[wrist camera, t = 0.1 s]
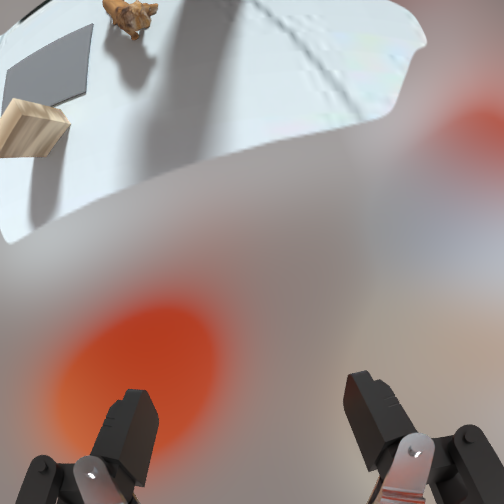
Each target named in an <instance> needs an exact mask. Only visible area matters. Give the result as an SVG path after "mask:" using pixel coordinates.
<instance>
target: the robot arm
mask: <svg viewBox="0 0 504 504" xmlns="http://www.w3.org/2000/svg"><path fill="white" fill-rule="evenodd" d="M343 406H344V411H345V414H346V416H347V418H348V421H349V423H350V426H351V428H352V431H353V433H354V436H355V438H356V441H357V443H358V446H359V448H360V451H361V453H362V456H363V458H364V461H365V464H366V466H367V469H368V471H369V472H370V471H374V470H376V469H378V472H379V474H380V475H379V477H378V480H377V482H376V484H375V487H374V489H373V491H372V493H371V495H370V497H369V499H368V501H367V503H366V504H425V499H424V498H423V493H424V489H425V486H426V484H429V486H430V488H431V491H432V493H433V496H434V498H435V501H436V503H437V504H504V467H503V465H502V463H501V461H500V460H499V458H498V456H497V454H496V453H495V451H494V449H493V448H492V446H491V444H490V443H489V442H488V440H487V438H486V436H485V435H484V433H483V432H482V430H481V429H480V428H479V427H477V426H475V425H464V426H462V427H460V428H459V429H458V430H457V431H456V433H455V434H454V435H451V436H446V437H440V438H430V437H429V436H428V435H426V434H423V433H418V432H417V430H416V429H415V427H414V426H413V424H412V422H411V420H410V419H409V417H408V416H407V414H406V412H405V411H404V409H403V407H402V406H401V404H399V401H398V399H397V397H395V394H394V393H393V391H392V389H391V388H390V386H389V385H387V384H386V383H384V382H383V381H382V380H380V379H379V380H376V381H374V380H373V379H372V377H371V375H370V374H369V372H368V371H366V370H365V371H361V372H357V373H352V374H349V375H348V377H347V382H346V388H345V393H344V398H343ZM158 426H159V418H158V413H157V411H156V409H155V407H154V405H153V403H152V401H151V399H150V396H149V394H148V392H147V391H146V390H136V389H128V390H127V391H126V393H125V396H124V398H123V400H117V401H116V402H115V403H114V404H113V405H112V406H111V407H110V409H109V411H108V413H107V415H106V419H105V420H104V423H103V427H101V429H100V432H99V434H98V437H97V439H96V441H95V444H94V447H93V449H92V451H91V454H90V455H89V456H84V457H82V458H80V459H79V460H78V461H77V462H76V463H75V464H61V463H56V462H55V461H54V460H53V459H52V458H51V457H49V456H46V455H40V456H37V457H36V458H34V459H33V460H32V462H31V464H30V466H29V468H28V471H27V473H26V476H25V478H24V481H23V484H22V486H21V489H20V492H19V494H18V497H17V500H16V504H55V503H56V500H57V497H58V501H57V504H140V502H139V500H138V499H137V497H136V495H135V494H134V492H133V491H134V486H139V487H144V486H145V481H146V477H147V472H148V468H149V463H150V459H151V455H152V451H153V446H154V442H155V438H156V434H157V430H158Z"/></svg>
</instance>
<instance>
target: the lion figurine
mask: <svg viewBox="0 0 504 504" xmlns="http://www.w3.org/2000/svg"><path fill="white" fill-rule="evenodd" d="M103 7H104V9H105V10H106V12H107V13H108V14H110V15H111V17H112V19H113V24H114V25H116V24H117V23H118V26H119V27H120V28H121V29H122V30H124V31H125V32H126V33H128V34H129V35H131V39H132V40H137V39H138V38H139V35H138V33H137V32H135V31H139V30H140V29H142V28H147V27H149V26H150V23H151V18H150V16H152V15H155V14H156V13H157V12H156V11H157V10H158V4H157V3H156V4H147V3H143V4H142V3H140V2H139V1H138V0H136V1H135V2H134V3H132V4H128V3H126V2H124V0H103Z"/></svg>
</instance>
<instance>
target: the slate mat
mask: <svg viewBox="0 0 504 504" xmlns="http://www.w3.org/2000/svg"><path fill="white" fill-rule="evenodd" d="M92 30H93V23H92V24H90V25H88V26H85V27H83V28H81V29H78V30H76V31H74V32H72V33H70V34H68V35H66V36H64V37H62V38H60V39H58V40H56V41H54V42H52V43H50V44H48V45H47V46H45V47H43V48H41V49H40V50H38V51H36V52H34V53H33V54H31V55H30V56H28V57H26V58H25V59H23V60H22V61H20V62H19V63H17V64H16V65H14V66H13V67H11V68H10V69H8V70H7V74H6V80H5V87H4V94H3V102H2V113H1V117H2V115H3V113H4V112H5V110H6V108H7V107H8V105H9V104H10V102H11V100H12V99H13V98H16V99H20V100H25V101H29V102H33V103H37V104H41V105H45V106H49V107H51V106H53V105H55V104H58V103H60V102H62V101H65V100H67V99H69V98H72V97H74V96H77V95H79V94H82V93H85V92H86V86H87V71H88V60H89V51H90V44H91V36H92Z"/></svg>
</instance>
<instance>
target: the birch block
mask: <svg viewBox="0 0 504 504" xmlns="http://www.w3.org/2000/svg"><path fill="white" fill-rule="evenodd" d="M70 125H71V123H70V122H69V121H68V119H67V118H66V116H65V115H64V114H63V112H62V111H61V109H57V108H53V107H49V106H45V105H41V104H37V103H33V102H29V101H25V100H20V99H16V98H13V99H12V100H11V102H10V104H9V105H8V107H7V108H6V110H5V112H4V113H3V115H2V117H1V118H0V158H16V157H47V155H48V154H49V152H50V151H51V149H52V148H53V147H54V145H55V144H56V143H57V141H58V140H59V139H60V137H61V136H62V135H63V133H64V132H65V131H66V130H67V128H68V127H69V126H70Z"/></svg>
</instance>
